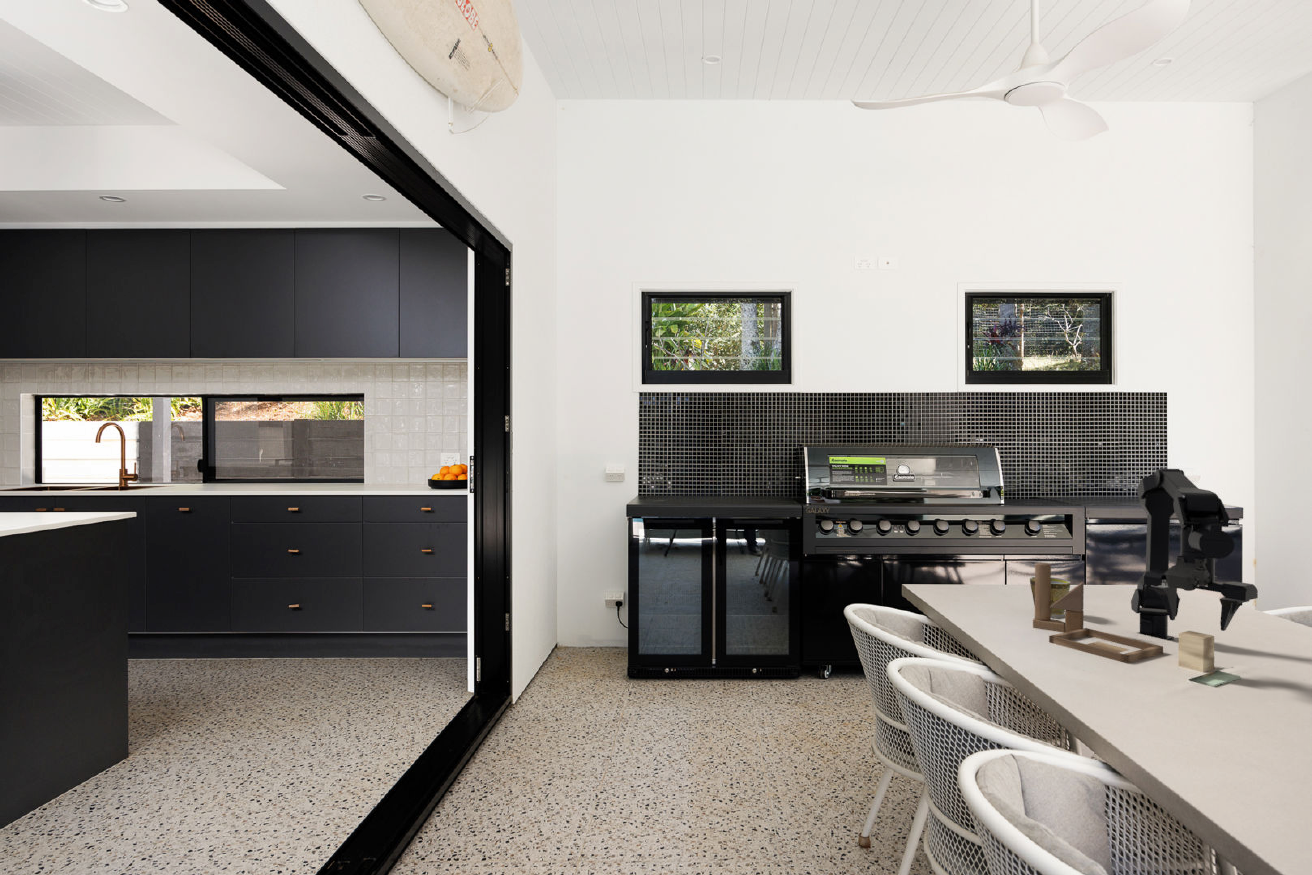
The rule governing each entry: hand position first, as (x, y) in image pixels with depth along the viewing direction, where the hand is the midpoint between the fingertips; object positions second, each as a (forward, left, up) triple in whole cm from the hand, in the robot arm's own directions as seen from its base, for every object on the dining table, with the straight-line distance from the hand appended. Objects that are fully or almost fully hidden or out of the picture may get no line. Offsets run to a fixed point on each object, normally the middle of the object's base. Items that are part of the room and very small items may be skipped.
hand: (1197, 625), depth 146 cm
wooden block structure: (-2, -31, -11) cm, 33 cm away
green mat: (0, 0, -11) cm, 11 cm away
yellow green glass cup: (-21, -46, -11) cm, 52 cm away
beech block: (0, 0, -10) cm, 10 cm away
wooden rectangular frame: (+3, -17, -11) cm, 20 cm away
